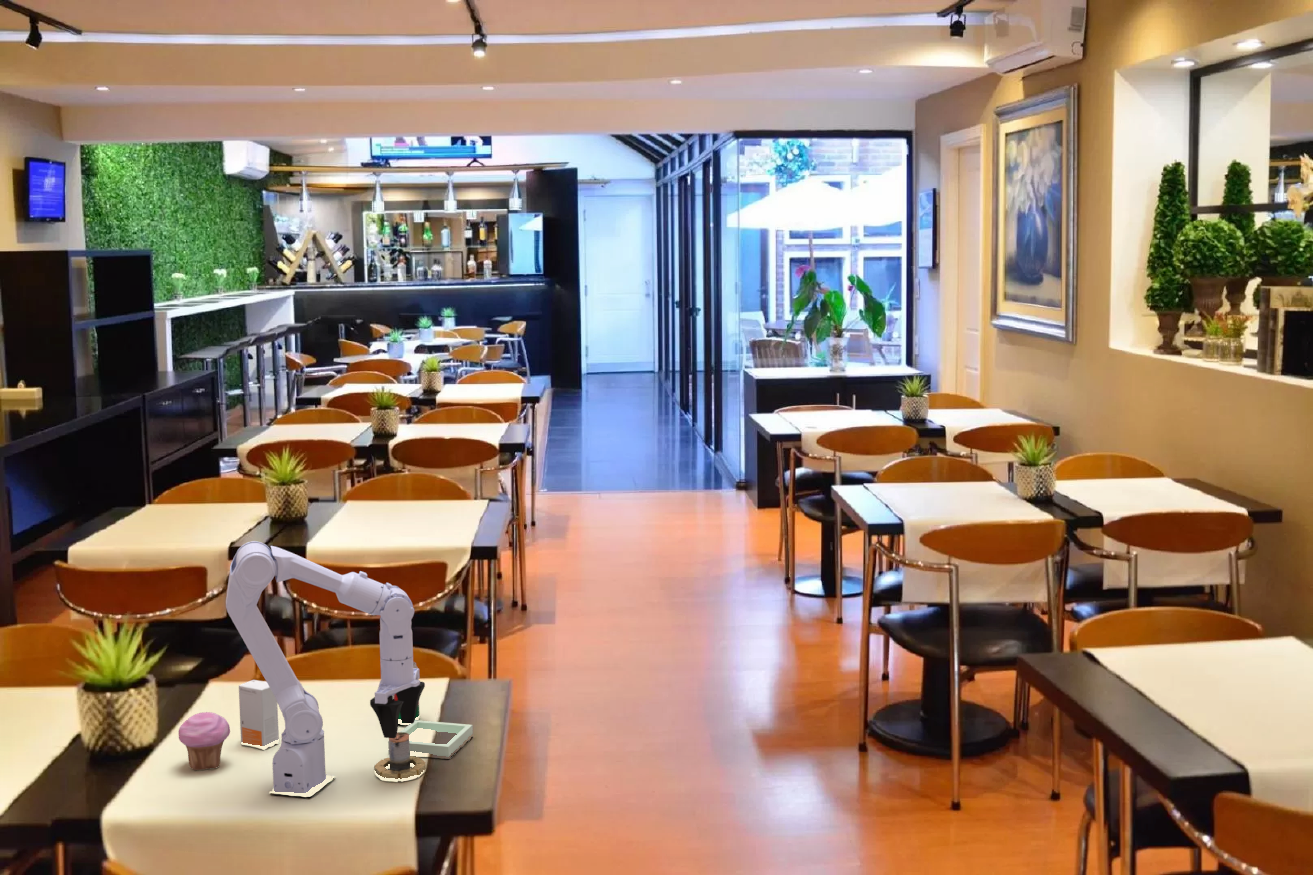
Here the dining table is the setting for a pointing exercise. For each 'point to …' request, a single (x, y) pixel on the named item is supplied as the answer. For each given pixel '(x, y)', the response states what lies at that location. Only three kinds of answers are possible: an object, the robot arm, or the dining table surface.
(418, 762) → the collar
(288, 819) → the dining table surface
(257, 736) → the skincare box
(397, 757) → the grey copper-topped cylinder
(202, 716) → the cupcake
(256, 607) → the robot arm
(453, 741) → the mint green square frame
